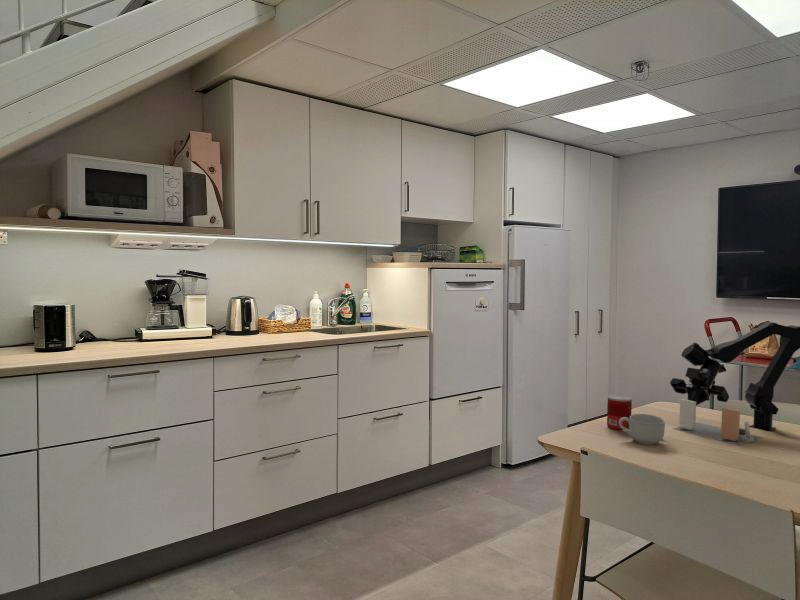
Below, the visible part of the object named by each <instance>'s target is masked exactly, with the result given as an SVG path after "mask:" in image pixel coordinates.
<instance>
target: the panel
mask: <svg viewBox="0 0 800 600" xmlns="http://www.w3.org/2000/svg"><path fill="white" fill-rule="evenodd" d="M749 426H750V423H749V421H745V422H744V427H745V429H744V428H741V427H739V439H738V440H735V441H732V440H728V439H724V438H721V436H722V435H721V427H719V426H715V425H711V424H710V425H709V424H706V423H702V422H695V429H692V430H688V429H684V428H680V427H679V426H678V427H674V428H672V430H675V431H680V432H684V433H687V434H692V435H695V436H701V437H703V438H708V439H713V440H716V441H721V442H724V443H729V444H733V445H737V446H741V445H744V444H747V443H752V442H754V441H756V440H760V439H762V438H763V436H758V435H754V434H751V431H750V430H751V429H750V428H751V427H749ZM763 439H764V438H763Z"/></svg>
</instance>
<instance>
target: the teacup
mask: <svg viewBox="0 0 800 600" xmlns="http://www.w3.org/2000/svg"><path fill="white" fill-rule="evenodd" d="M624 420H626V421H627V422H628V424H629V426H630V427H629V428H625V427H623V425H622V421H624ZM619 426H620V427H621V428H622V429H623V430H624V432H626V433H627V435H629V436H631V438H632V439H633V440H634V441H635V442H637V443H639V444H643V445H649V446H650V445H657V444H658V443H660V442H661V441H662V440H663V439H664V437H665V426H666V420H665V419H664V418H662V417H660V416H657V415H653V414H647V413H634V414H631V416H630V419H629V418H627V417H622V418H621V419H620V420H619ZM628 429H629V430H628Z"/></svg>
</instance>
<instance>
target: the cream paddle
mask: <svg viewBox="0 0 800 600" xmlns="http://www.w3.org/2000/svg"><path fill="white" fill-rule="evenodd" d="M696 415H697V406H696V402H695V401H690V400H688V399H686V398H685V399H684V398H681V399H680V401H679V420H678V421H679V422H678V423H679V424H678V427H680V428H684V429H688V430H692V429H695V423H696V418H697V417H696Z"/></svg>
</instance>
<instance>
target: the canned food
mask: <svg viewBox="0 0 800 600" xmlns="http://www.w3.org/2000/svg"><path fill="white" fill-rule="evenodd" d="M606 405H607V410H606V414H607V415H606V425H607V428H609V429H611V430H614V431H622V430H623V429H622V428H621V427H620V426H619V420H620V419H621V418H622V417H627V418H629V419H630V416H631V415H632V409H633V408H632V407H633V406H632V397H631V396H628V395H626V396H625V395H622V394H621V395H620V394H610V395H608V396H607V404H606ZM622 425H623V427H625V428H626V429H628V430H630V429H629V428H630V426H629V424H628V422H627V421H626V420H624V421H622Z"/></svg>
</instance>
